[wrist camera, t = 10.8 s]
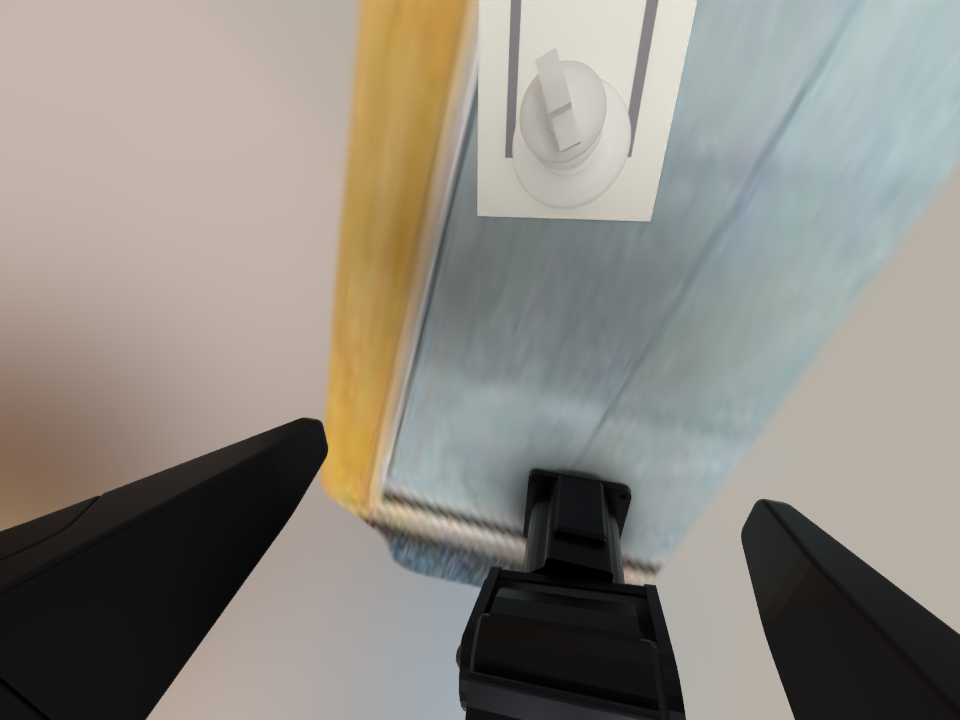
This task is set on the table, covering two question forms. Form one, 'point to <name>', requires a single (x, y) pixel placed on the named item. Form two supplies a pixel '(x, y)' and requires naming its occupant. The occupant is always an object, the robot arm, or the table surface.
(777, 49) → the table surface
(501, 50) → the slotted cream plate
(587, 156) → the chess piece
